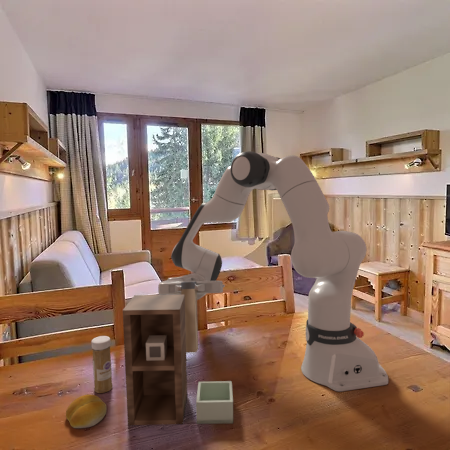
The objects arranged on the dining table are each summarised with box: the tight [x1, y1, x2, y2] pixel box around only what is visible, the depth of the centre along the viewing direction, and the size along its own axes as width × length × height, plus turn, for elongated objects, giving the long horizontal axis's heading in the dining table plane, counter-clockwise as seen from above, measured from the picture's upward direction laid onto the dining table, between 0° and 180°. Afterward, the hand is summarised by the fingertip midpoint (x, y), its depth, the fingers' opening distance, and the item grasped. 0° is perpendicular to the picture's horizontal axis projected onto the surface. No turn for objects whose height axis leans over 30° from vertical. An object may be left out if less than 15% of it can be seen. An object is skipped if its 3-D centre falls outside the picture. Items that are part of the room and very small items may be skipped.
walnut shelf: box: [122, 294, 188, 426], centre depth 79 cm, size 12×10×26 cm
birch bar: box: [181, 282, 199, 353], centre depth 103 cm, size 4×20×4 cm
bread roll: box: [65, 394, 107, 429], centre depth 78 cm, size 8×9×4 cm
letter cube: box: [146, 335, 167, 361], centre depth 78 cm, size 4×4×4 cm
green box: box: [195, 380, 234, 425], centre depth 79 cm, size 8×8×5 cm
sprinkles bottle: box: [90, 335, 113, 394], centre depth 88 cm, size 5×5×14 cm
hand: (187, 288), depth 101 cm, fingers closed on birch bar, 4 cm apart
